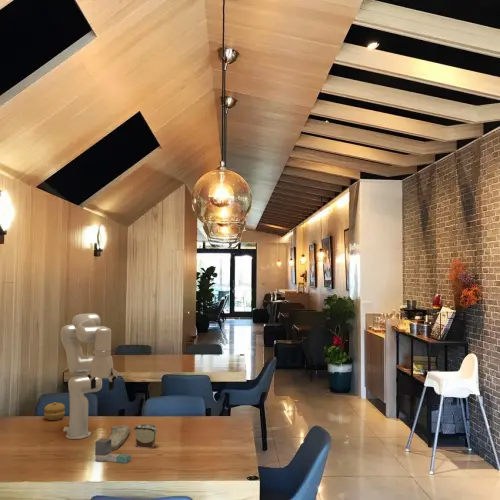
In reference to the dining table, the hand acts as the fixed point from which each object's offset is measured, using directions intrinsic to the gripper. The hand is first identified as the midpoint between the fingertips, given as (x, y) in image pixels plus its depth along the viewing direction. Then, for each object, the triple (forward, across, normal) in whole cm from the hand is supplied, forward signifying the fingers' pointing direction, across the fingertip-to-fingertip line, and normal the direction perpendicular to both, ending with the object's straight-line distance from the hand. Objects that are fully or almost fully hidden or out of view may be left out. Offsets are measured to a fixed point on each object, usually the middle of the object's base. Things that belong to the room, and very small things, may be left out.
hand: (102, 389), depth 245 cm
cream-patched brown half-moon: (+30, +17, +15) cm, 38 cm away
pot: (+31, -59, +45) cm, 81 cm away
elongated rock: (+31, -2, +20) cm, 37 cm away
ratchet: (+30, +11, -8) cm, 33 cm away
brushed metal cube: (+27, +6, -8) cm, 29 cm away
